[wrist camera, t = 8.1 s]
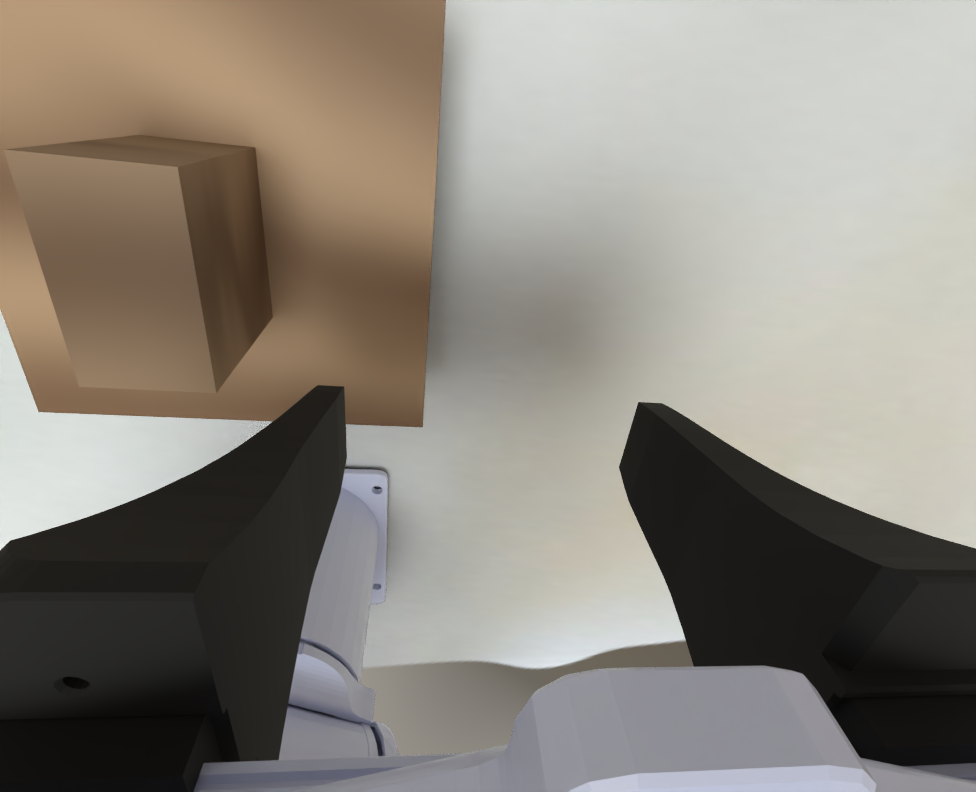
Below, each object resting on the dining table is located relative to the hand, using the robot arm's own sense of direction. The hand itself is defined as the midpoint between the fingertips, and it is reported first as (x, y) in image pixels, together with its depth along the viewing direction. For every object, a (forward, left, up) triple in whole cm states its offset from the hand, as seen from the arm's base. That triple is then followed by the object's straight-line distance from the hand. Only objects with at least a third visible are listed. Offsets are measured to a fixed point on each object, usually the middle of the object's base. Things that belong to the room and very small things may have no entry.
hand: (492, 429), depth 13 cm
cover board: (+3, +8, -6) cm, 11 cm away
